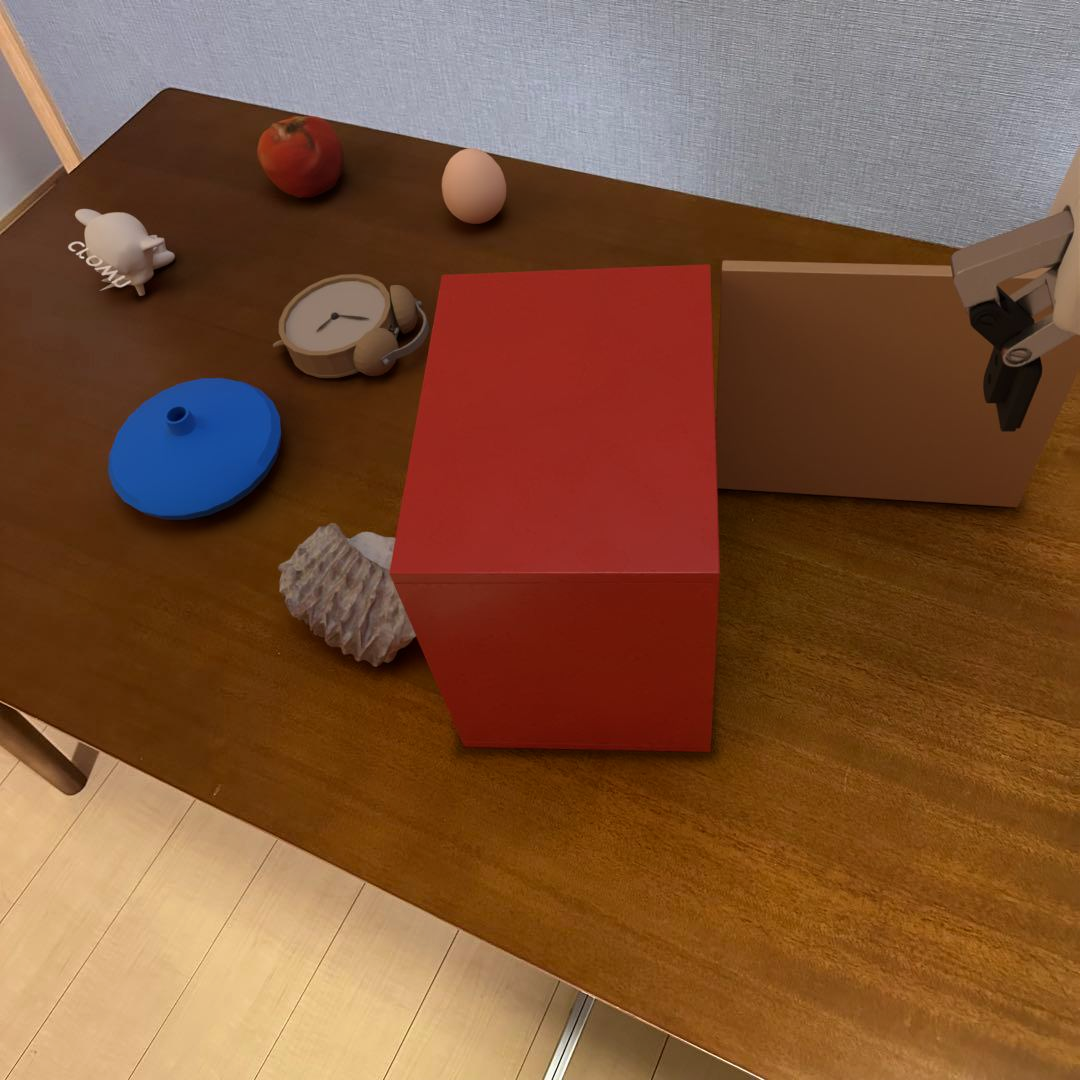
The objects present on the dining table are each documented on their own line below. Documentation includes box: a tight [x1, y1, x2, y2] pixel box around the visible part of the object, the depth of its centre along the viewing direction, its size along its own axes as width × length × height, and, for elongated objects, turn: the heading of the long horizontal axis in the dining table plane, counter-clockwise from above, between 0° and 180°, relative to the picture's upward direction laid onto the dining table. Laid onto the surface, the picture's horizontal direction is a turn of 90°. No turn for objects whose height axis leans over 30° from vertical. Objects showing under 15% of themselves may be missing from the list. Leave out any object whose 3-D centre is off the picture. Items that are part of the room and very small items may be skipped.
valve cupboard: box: [389, 263, 721, 753], centre depth 73 cm, size 18×24×24 cm
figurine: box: [67, 208, 176, 297], centre depth 109 cm, size 12×8×10 cm
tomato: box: [257, 115, 345, 199], centre depth 115 cm, size 9×9×8 cm
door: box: [715, 259, 1080, 508], centre depth 78 cm, size 8×24×24 cm, turn 81°
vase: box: [107, 377, 282, 521], centre depth 93 cm, size 16×16×7 cm
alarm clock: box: [272, 273, 430, 379], centre depth 101 cm, size 11×5×15 cm
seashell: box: [277, 522, 417, 667], centre depth 82 cm, size 14×9×10 cm
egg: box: [441, 147, 507, 225], centre depth 108 cm, size 7×7×8 cm
